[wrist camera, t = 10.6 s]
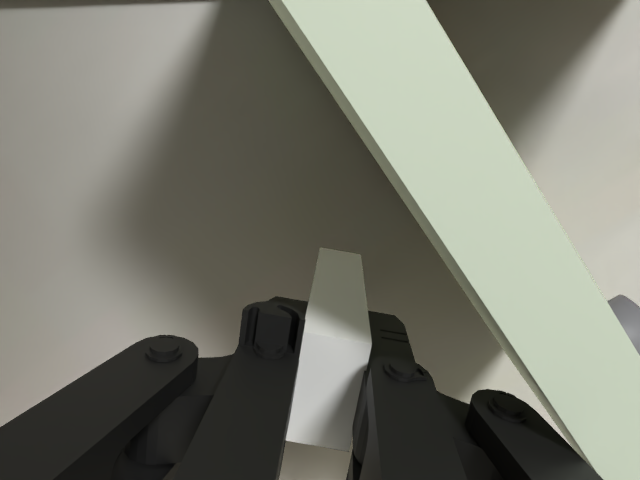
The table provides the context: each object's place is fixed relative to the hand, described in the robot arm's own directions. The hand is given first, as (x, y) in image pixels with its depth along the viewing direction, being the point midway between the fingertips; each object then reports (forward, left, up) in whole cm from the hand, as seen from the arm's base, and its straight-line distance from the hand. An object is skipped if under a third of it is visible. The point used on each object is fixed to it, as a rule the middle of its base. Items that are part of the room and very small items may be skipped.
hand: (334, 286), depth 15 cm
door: (-5, +3, -1) cm, 6 cm away
